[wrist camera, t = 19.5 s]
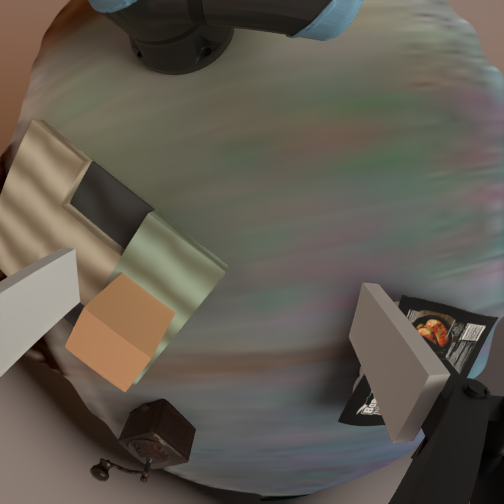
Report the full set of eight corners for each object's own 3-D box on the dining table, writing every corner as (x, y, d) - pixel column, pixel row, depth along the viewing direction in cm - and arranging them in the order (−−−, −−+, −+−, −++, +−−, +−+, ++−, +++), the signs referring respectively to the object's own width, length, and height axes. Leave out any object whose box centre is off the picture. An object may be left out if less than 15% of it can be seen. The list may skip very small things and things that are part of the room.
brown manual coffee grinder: (163, 395, 54) (136, 465, 37) (197, 429, 57) (182, 498, 40) (113, 413, 57) (83, 473, 40) (146, 444, 60) (124, 503, 42)
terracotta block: (122, 272, 44) (83, 307, 33) (175, 312, 46) (151, 358, 34) (101, 308, 46) (64, 347, 35) (150, 345, 48) (125, 392, 36)
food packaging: (403, 296, 39) (500, 319, 40) (385, 277, 46) (478, 301, 47) (338, 424, 46) (435, 426, 47) (331, 396, 54) (423, 403, 54)
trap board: (43, 120, 40) (32, 119, 37) (228, 265, 46) (226, 272, 44) (-7, 246, 47) (-16, 250, 44) (140, 374, 53) (135, 384, 50)
